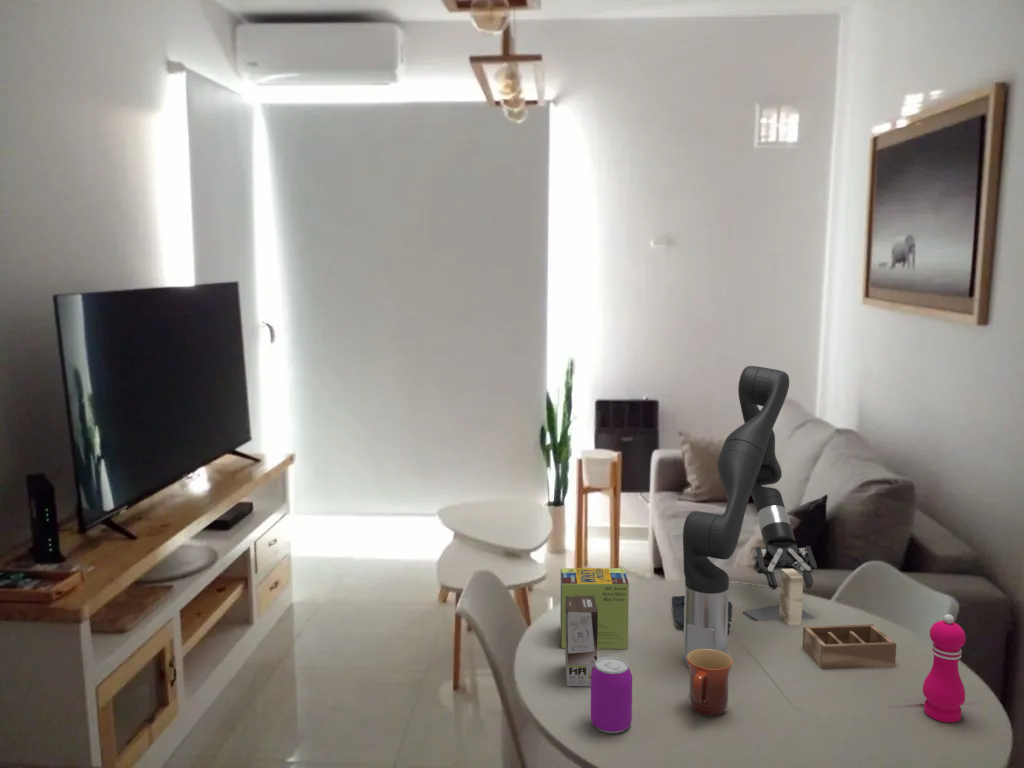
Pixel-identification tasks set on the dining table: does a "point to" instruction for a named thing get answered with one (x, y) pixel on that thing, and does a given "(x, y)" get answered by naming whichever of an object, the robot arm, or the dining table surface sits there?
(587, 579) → the protein box
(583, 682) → the coffee box
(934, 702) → the pepper mill
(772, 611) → the rubber mat
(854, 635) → the walnut box
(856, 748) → the dining table surface
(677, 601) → the dark slate chunk
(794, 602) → the ash block
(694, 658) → the mug
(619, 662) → the beverage can
